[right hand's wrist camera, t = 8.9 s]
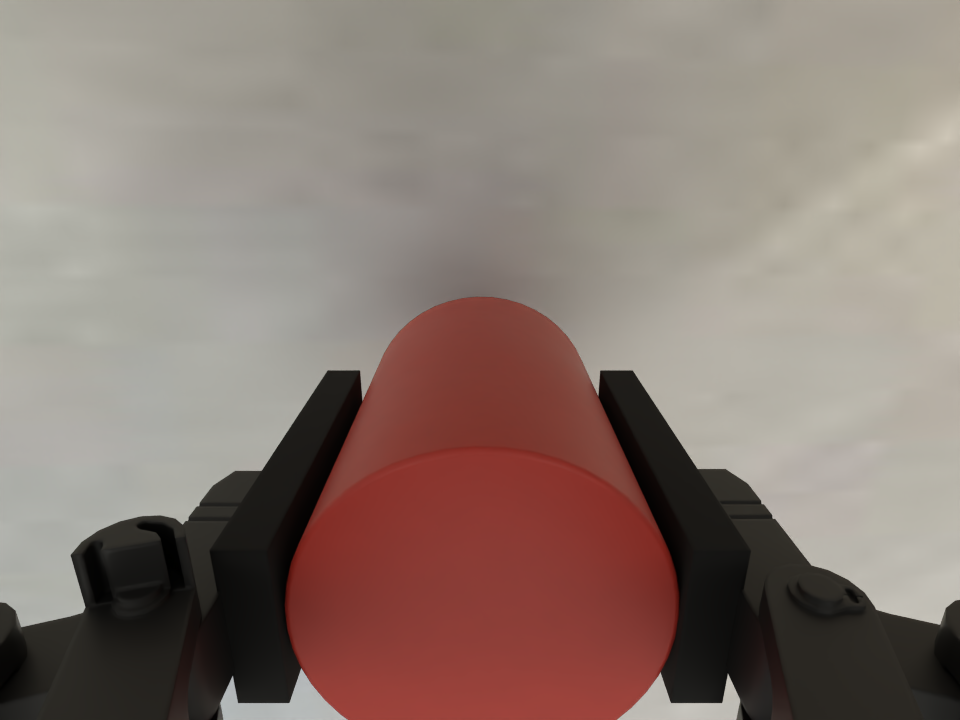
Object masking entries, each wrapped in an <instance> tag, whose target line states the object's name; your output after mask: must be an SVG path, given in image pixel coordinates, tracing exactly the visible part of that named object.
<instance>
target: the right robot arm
mask: <svg viewBox="0 0 960 720" xmlns="http://www.w3.org/2000/svg"><path fill="white" fill-rule="evenodd" d="M598 397H599V399H600V402H601V404H602V406H603V408H604V410H605V412H606V415H607V417H608V419H609V421H610V423H611V425H612V428H613V430H614V432H615V434H616V436H617V439H618V441H619V443H620V445H621V447H622V449H623V452H624V454H625V456H626V458H627V460H628V462H629V465H630V467H631V469H632V471H633V473H634V475H635V478H636V480H637V482H638V484H639V486H640V488H641V491H642V493H643V495H644V497H645V499H646V502H647V504H648V506H649V508H650V510H651V512H652V515H653V517H654V519H655V521H656V523H657V525H658V528H659V530H660V532H661V534H662V536H663V538H664V541H665V543H666V545H667V547H668V549H669V552H670V554H671V557H672V560H673V563H674V567H675V570H676V573H677V579H678V586H679V592H680V599H679V616H678V623H677V630H676V636H675V640H674V643H673V645H672V648H671V651H670V654H669V657H668V659H667V661H666V663H665V664H664V666H663V668H662V670H661V675H662V678H663V681H664V684H665V687H666V689H667V692H668V695H669V698H670V701H671V703H722V701H723V696H724V691H725V686H726V680H727V675H728V674H729V676H730V678H731V681H732V683H733V685H734V687H735V689H736V691H737V694H738V696H739V698H740V705H739V710H738V715H737V719H736V720H960V600H957V601H954V602H953V603H952V604H951V605H949V606H948V607H947V608H946V610H945V613H944V616H943V619H942V622H941V624H940V625H938V624H933V623H929V622H924V621H920V620H915V619H911V618H906V617H901V616H897V615H892V614H888V613H885V612H881V611H878V610H876V609H875V607H874V605H873V604H872V602H871V601H870V600H869V598H868V597H867V596H866V594H865V593H864V592H863V591H862V590H860V589H859V588H858V587H857V586H855V585H854V584H853V583H851V582H850V581H849V580H847V579H845V578H843V577H841V576H839V575H837V574H835V573H833V572H831V571H829V570H825V569H822V568H818V567H815V566H811V565H810V563H809V562H808V561H807V559H806V558H805V557H804V556H803V554H802V553H801V552H800V550H799V549H798V548H797V547H796V545H795V544H794V543H793V541H792V540H791V539H790V538H789V536H788V535H787V534H786V532H785V531H784V530H783V529H782V527H781V526H780V525H779V523H778V522H777V521H776V520H775V519H773V518H772V514H771V513H770V512H769V511H768V509H767V508H766V507H765V505H764V504H761V500H760V499H759V498H758V496H757V495H756V494H755V492H754V491H753V490H752V489H751V487H750V486H749V485H748V484H747V483H746V482H744V481H743V480H741V479H740V478H738V477H737V476H735V475H734V474H732V473H731V472H729V471H728V470H726V469H697V468H696V466H695V465H694V463H693V462H692V460H691V459H690V457H689V455H688V454H687V452H686V451H685V449H684V448H683V446H682V445H681V443H680V442H679V440H678V439H677V437H676V436H675V434H674V433H673V431H672V430H671V428H670V427H669V425H668V424H667V422H666V421H665V419H664V418H663V416H662V414H661V413H660V411H659V410H658V408H657V407H656V405H655V404H654V402H653V401H652V399H651V398H650V396H649V395H648V393H647V392H646V390H645V389H644V387H643V386H642V384H641V383H640V381H639V380H638V378H637V377H636V375H635V374H634V372H633V371H600V383H599V396H598ZM361 404H362V391H361V377H360V371H327V373H326V374H325V376H324V377H323V379H322V380H321V382H320V383H319V385H318V386H317V388H316V389H315V391H314V392H313V394H312V395H311V397H310V398H309V400H308V401H307V403H306V404H305V406H304V408H303V409H302V411H301V412H300V414H299V415H298V417H297V418H296V420H295V421H294V423H293V424H292V426H291V427H290V429H289V430H288V432H287V433H286V435H285V436H284V438H283V439H282V441H281V442H280V444H279V445H278V447H277V449H276V450H275V452H274V453H273V455H272V456H271V458H270V459H269V461H268V462H267V464H266V465H265V467H264V468H263V470H262V471H235V472H233V473H232V474H230V475H229V476H227V477H225V478H224V479H222V480H221V481H219V482H218V483H216V484H215V485H213V486H212V488H211V489H210V490H209V492H208V493H207V494H206V495H205V497H204V498H203V499H202V501H201V502H200V506H199V507H196V508H195V510H194V511H193V512H192V514H191V515H190V516H189V520H188V521H185V523H184V524H183V525H182V524H181V523H180V522H179V521H177V520H176V519H174V518H169V517H165V516H142V517H137V518H133V519H129V520H125V521H120V522H118V523H115V524H113V525H111V526H108V527H106V528H104V529H101V530H99V531H98V532H96V533H95V534H93V535H92V536H90V537H89V538H87V539H86V540H84V541H83V542H81V544H80V545H79V546H78V547H77V548H76V549H75V551H74V552H73V553H72V554H71V558H72V561H73V565H74V568H75V572H76V575H77V579H78V582H79V586H80V589H81V593H82V596H83V600H84V603H85V607H86V608H85V610H84V612H83V613H81V614H78V615H74V616H71V617H66V618H62V619H57V620H53V621H48V622H44V623H39V624H35V625H30V626H25V627H21V626H20V623H19V620H18V617H17V614H16V611H15V610H14V609H13V608H11V607H10V606H9V605H8V604H6V603H0V720H223V715H222V710H221V705H220V702H221V700H222V698H223V695H224V693H225V691H226V689H227V687H228V685H229V682H230V680H231V678H232V676H233V678H234V683H235V689H236V694H237V699H238V703H289V702H290V699H291V697H292V694H293V691H294V688H295V685H296V682H297V679H298V676H299V673H300V670H301V666H300V664H299V662H298V660H297V657H296V655H295V653H294V651H293V648H292V645H291V641H290V637H289V634H288V630H287V624H286V614H285V589H286V581H287V577H288V573H289V568H290V564H291V561H292V559H293V556H294V554H295V552H296V549H297V547H298V544H299V542H300V540H301V538H302V535H303V533H304V531H305V529H306V527H307V524H308V522H309V520H310V518H311V515H312V513H313V511H314V509H315V506H316V504H317V502H318V500H319V498H320V495H321V493H322V491H323V489H324V486H325V484H326V482H327V480H328V477H329V475H330V473H331V471H332V469H333V466H334V464H335V462H336V460H337V457H338V455H339V453H340V451H341V448H342V446H343V444H344V442H345V440H346V437H347V435H348V433H349V431H350V428H351V426H352V424H353V422H354V420H355V417H356V415H357V413H358V411H359V408H360V406H361Z"/></svg>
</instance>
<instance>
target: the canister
mask: <svg viewBox="0 0 960 720" xmlns="http://www.w3.org/2000/svg"><path fill="white" fill-rule="evenodd" d="M679 599H680V592H679V586H678V579H677V573H676V570H675V567H674V563H673V560H672V557H671V554H670V552H669V549H668V547H667V545H666V543H665V541H664V538H663V536H662V534H661V532H660V530H659V528H658V525H657V523H656V521H655V519H654V517H653V515H652V512H651V510H650V508H649V506H648V504H647V502H646V499H645V497H644V495H643V493H642V491H641V488H640V486H639V484H638V482H637V480H636V478H635V475H634V473H633V471H632V469H631V467H630V465H629V462H628V460H627V458H626V456H625V454H624V452H623V449H622V447H621V445H620V443H619V441H618V439H617V436H616V434H615V432H614V430H613V428H612V425H611V423H610V421H609V419H608V417H607V415H606V412H605V410H604V408H603V406H602V404H601V402H600V399H599V397H598V395H597V393H596V391H595V389H594V386H593V384H592V382H591V380H590V378H589V375H588V373H587V371H586V369H585V367H584V365H583V362H582V360H581V358H580V356H579V354H578V352H577V350H576V348H575V347H574V345H573V344H572V342H571V341H570V340H569V338H568V337H567V336H566V335H565V333H564V332H563V331H562V330H561V329H560V328H559V327H558V326H557V325H556V324H554V323H553V322H552V321H551V320H550V319H548V318H547V317H546V316H544V315H542V314H541V313H539V312H537V311H536V310H534V309H532V308H529V307H527V306H525V305H523V304H520V303H517V302H513V301H510V300H506V299H500V298H494V297H470V298H462V299H457V300H453V301H448V302H446V303H443V304H440V305H438V306H435V307H433V308H431V309H429V310H427V311H425V312H423V313H421V314H420V315H419V316H417V317H416V318H414V319H413V320H412V321H410V322H409V323H408V324H407V325H406V326H405V327H404V328H403V329H402V330H401V331H400V332H399V333H398V334H397V335H396V336H395V338H394V339H393V340H392V341H391V343H390V345H389V346H388V348H387V350H386V351H385V353H384V355H383V357H382V359H381V362H380V364H379V366H378V368H377V370H376V373H375V375H374V377H373V379H372V382H371V384H370V386H369V388H368V391H367V393H366V395H365V397H364V399H363V402H362V404H361V406H360V408H359V411H358V413H357V415H356V417H355V420H354V422H353V424H352V426H351V428H350V431H349V433H348V435H347V437H346V440H345V442H344V444H343V446H342V448H341V451H340V453H339V455H338V457H337V460H336V462H335V464H334V466H333V469H332V471H331V473H330V475H329V477H328V480H327V482H326V484H325V486H324V489H323V491H322V493H321V495H320V498H319V500H318V502H317V504H316V506H315V509H314V511H313V513H312V515H311V518H310V520H309V522H308V524H307V527H306V529H305V531H304V533H303V535H302V538H301V540H300V542H299V544H298V547H297V549H296V552H295V554H294V556H293V559H292V561H291V564H290V568H289V573H288V577H287V581H286V589H285V614H286V624H287V630H288V634H289V637H290V641H291V645H292V648H293V651H294V653H295V655H296V657H297V660H298V662H299V664H300V666H301V668H302V670H303V671H304V673H305V674H306V676H307V678H308V679H309V681H310V682H311V684H312V685H313V686H314V688H315V689H316V690H317V691H318V692H319V693H320V695H321V696H322V697H323V698H324V699H325V701H327V702H328V703H329V704H330V705H331V706H332V707H333V708H334V709H335V710H336V711H337V712H339V713H340V714H341V715H342V716H343V717H345V718H346V719H348V720H617V719H618V718H619V717H620V716H622V715H623V714H624V713H625V712H627V711H628V710H629V709H630V708H632V707H633V705H634V704H635V703H636V702H637V701H638V700H639V699H640V698H641V697H642V696H643V695H644V694H645V693H646V692H647V690H648V689H649V688H650V686H651V685H652V684H653V682H654V681H655V680H656V678H657V677H658V676H659V674H660V672H661V670H662V668H663V666H664V664H665V663H666V661H667V659H668V657H669V654H670V651H671V648H672V645H673V643H674V640H675V636H676V630H677V623H678V616H679Z"/></svg>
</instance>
